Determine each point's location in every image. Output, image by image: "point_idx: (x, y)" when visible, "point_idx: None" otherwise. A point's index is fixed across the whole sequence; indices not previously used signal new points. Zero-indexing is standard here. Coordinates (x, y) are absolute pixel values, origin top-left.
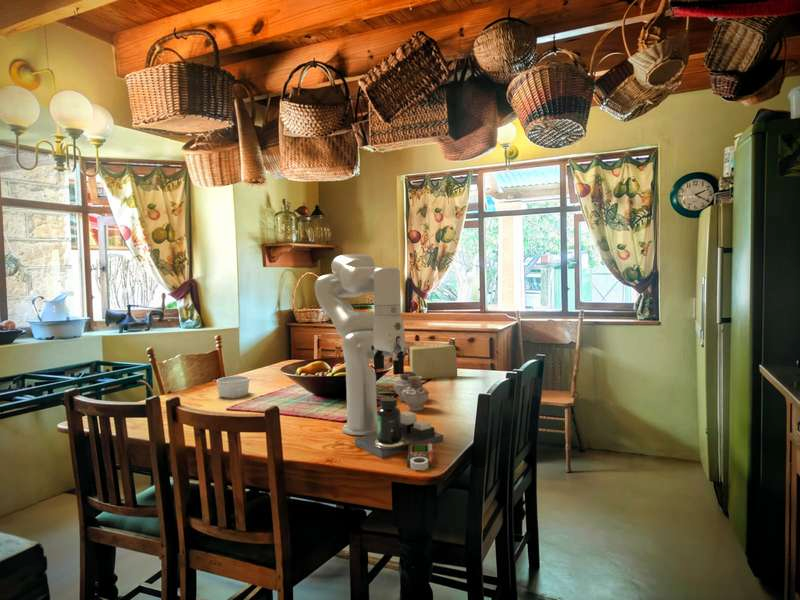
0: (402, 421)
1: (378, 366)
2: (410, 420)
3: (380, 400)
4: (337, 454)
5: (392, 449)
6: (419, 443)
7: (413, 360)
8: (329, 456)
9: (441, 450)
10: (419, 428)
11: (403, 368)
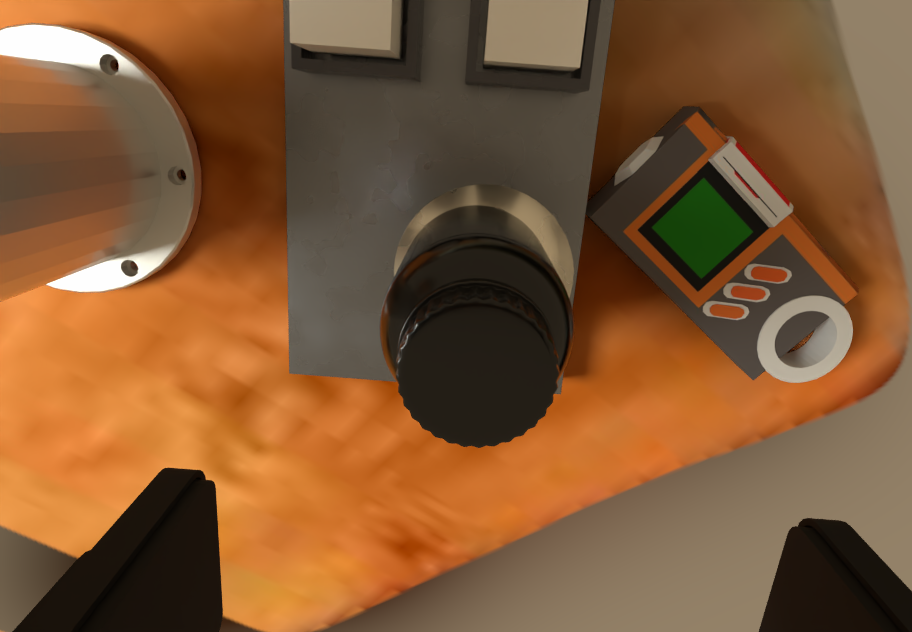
0: (340, 52)
1: (202, 613)
2: (396, 15)
3: (449, 442)
4: (364, 486)
5: None
6: (649, 178)
7: None
8: (363, 522)
9: (718, 56)
10: (551, 67)
11: (893, 581)
